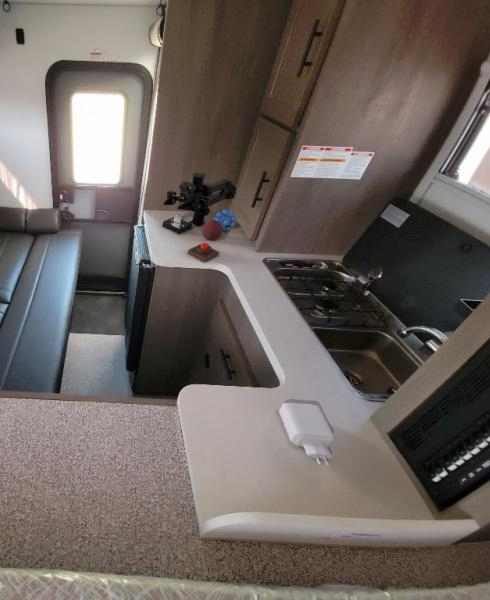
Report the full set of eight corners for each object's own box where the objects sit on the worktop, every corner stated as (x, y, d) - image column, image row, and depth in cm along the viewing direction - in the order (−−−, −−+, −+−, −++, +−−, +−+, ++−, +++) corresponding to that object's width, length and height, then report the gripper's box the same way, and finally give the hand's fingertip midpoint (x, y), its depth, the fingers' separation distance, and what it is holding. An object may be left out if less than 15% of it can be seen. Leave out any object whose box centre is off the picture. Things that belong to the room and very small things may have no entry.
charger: (299, 468, 78) (277, 412, 89) (339, 471, 77) (312, 415, 89) (307, 458, 75) (284, 402, 87) (349, 462, 74) (320, 405, 86)
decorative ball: (198, 234, 173) (202, 216, 166) (217, 234, 172) (222, 216, 166) (202, 243, 165) (206, 224, 159) (222, 243, 164) (227, 225, 158)
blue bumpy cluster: (213, 234, 172) (218, 213, 165) (209, 228, 178) (215, 207, 170) (235, 235, 172) (241, 213, 165) (231, 229, 177) (237, 208, 170)
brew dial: (173, 221, 178) (174, 213, 175) (174, 220, 178) (176, 213, 176) (180, 224, 174) (181, 217, 172) (182, 223, 175) (183, 216, 173)
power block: (201, 247, 161) (202, 240, 159) (218, 255, 155) (220, 248, 153) (187, 253, 156) (189, 246, 154) (204, 262, 150) (206, 255, 148)
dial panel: (174, 221, 184) (175, 216, 182) (191, 229, 177) (192, 223, 175) (162, 226, 180) (163, 220, 178) (178, 234, 172) (179, 228, 170)
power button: (203, 245, 155) (204, 242, 154) (209, 248, 153) (210, 245, 152) (198, 247, 154) (199, 244, 153) (205, 250, 152) (205, 247, 150)
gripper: (178, 177, 169) (156, 186, 163) (208, 183, 156) (185, 193, 150) (178, 198, 176) (157, 207, 170) (206, 206, 163) (185, 216, 157)
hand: (170, 205), depth 161 cm, fingers open, 9 cm apart
